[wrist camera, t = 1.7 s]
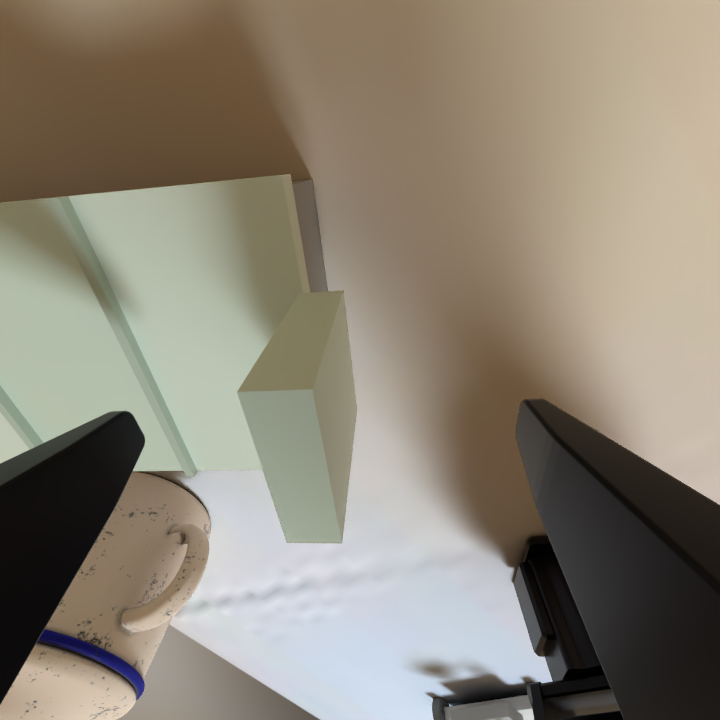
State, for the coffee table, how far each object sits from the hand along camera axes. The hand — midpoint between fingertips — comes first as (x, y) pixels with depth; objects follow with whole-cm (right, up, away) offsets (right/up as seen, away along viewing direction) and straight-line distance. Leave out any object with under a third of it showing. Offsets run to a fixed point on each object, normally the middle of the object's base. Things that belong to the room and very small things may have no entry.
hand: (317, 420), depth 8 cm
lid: (-8, +2, +4) cm, 9 cm away
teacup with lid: (-12, -8, +15) cm, 21 cm away
